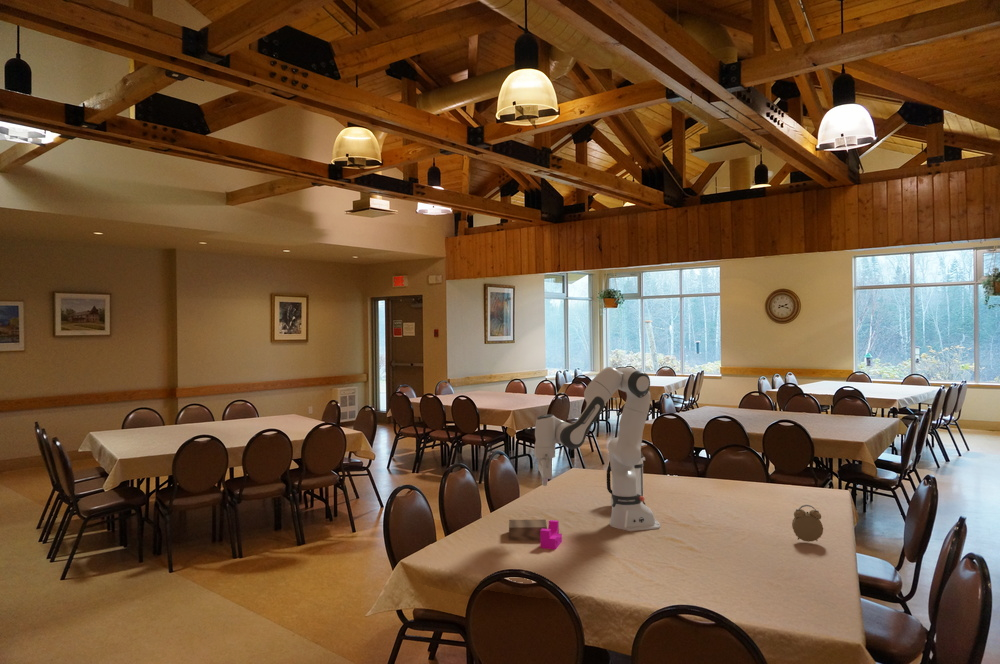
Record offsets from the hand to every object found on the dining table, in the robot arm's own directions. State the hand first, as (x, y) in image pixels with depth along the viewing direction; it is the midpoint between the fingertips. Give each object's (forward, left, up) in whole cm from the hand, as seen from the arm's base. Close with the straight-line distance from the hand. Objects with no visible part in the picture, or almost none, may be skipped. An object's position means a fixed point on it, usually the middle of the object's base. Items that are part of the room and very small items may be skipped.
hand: (544, 484), depth 265 cm
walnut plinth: (+7, -2, -23) cm, 24 cm away
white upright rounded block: (-48, -49, -23) cm, 72 cm away
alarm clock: (-107, +14, -23) cm, 110 cm away
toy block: (-2, +8, -23) cm, 24 cm away
